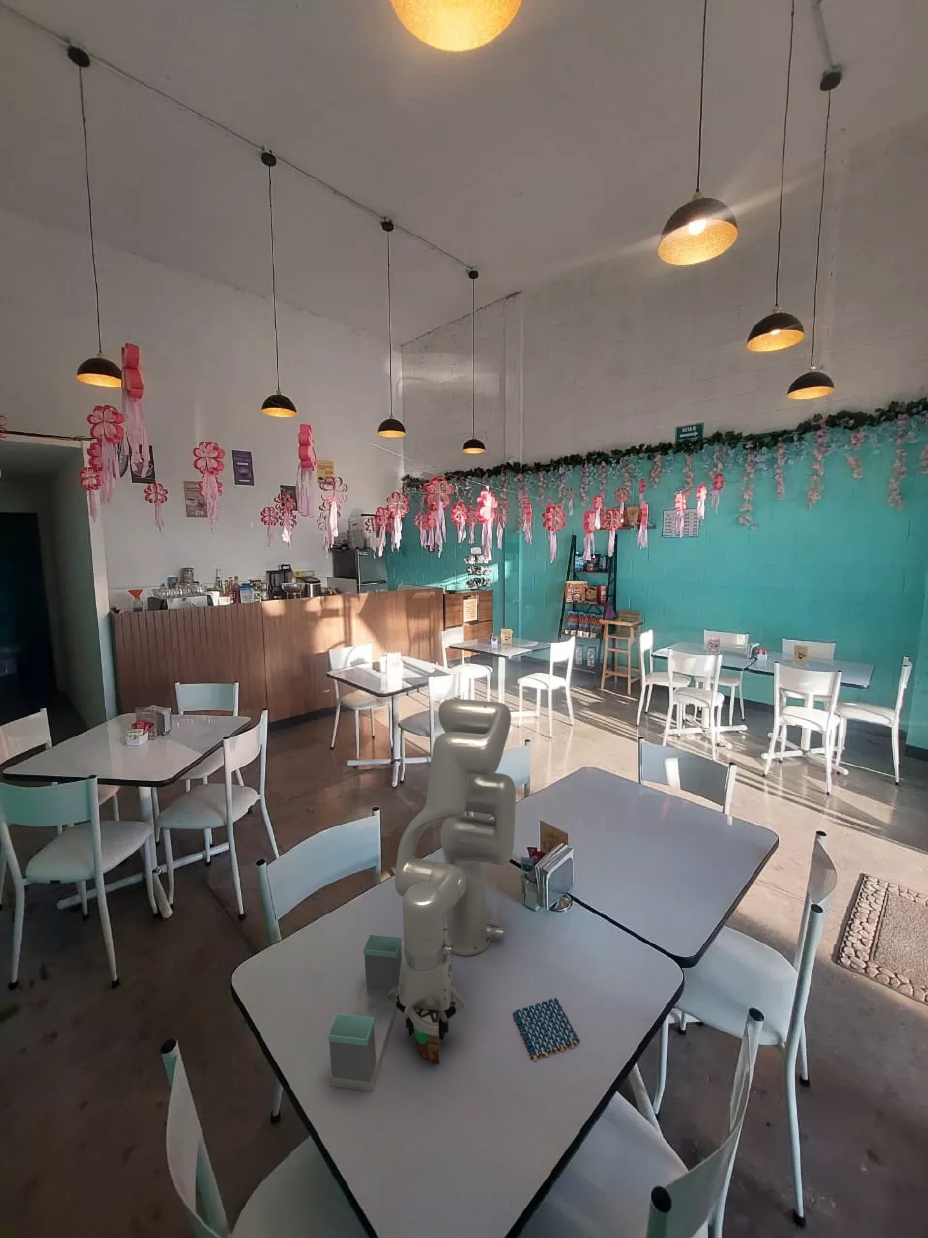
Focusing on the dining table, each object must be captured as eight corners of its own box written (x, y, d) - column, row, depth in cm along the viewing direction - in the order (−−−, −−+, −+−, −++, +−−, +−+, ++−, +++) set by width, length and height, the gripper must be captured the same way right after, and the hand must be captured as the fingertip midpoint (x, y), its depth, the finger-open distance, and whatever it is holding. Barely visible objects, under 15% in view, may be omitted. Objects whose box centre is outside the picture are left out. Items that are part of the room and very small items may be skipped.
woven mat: (582, 1048, 99) (582, 1039, 99) (532, 1066, 96) (532, 1057, 96) (557, 1002, 109) (557, 993, 108) (511, 1016, 106) (511, 1008, 105)
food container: (412, 1011, 107) (410, 969, 105) (441, 1010, 107) (440, 969, 105) (405, 1072, 95) (404, 1026, 93) (438, 1072, 95) (437, 1026, 93)
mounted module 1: (376, 1059, 95) (374, 1018, 94) (369, 1082, 91) (366, 1040, 90) (340, 1054, 96) (337, 1013, 95) (331, 1077, 92) (328, 1035, 91)
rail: (404, 981, 114) (404, 973, 114) (372, 1091, 91) (371, 1082, 91) (370, 977, 115) (370, 970, 115) (330, 1086, 93) (329, 1076, 92)
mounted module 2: (402, 973, 114) (401, 937, 112) (397, 989, 110) (396, 953, 108) (371, 970, 115) (369, 934, 113) (365, 986, 111) (363, 949, 109)
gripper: (471, 939, 100) (473, 1019, 102) (386, 931, 102) (390, 1009, 105) (466, 971, 92) (468, 1056, 95) (375, 962, 95) (379, 1045, 97)
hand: (427, 1031), depth 100 cm, fingers closed on food container, 5 cm apart
